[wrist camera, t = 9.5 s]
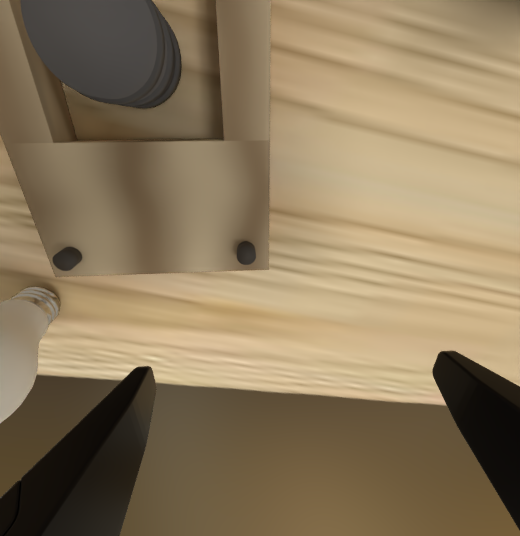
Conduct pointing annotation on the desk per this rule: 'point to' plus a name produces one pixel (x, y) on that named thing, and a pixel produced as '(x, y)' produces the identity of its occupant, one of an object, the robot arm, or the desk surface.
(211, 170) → the wooden handle frame
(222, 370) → the desk surface
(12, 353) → the light bulb
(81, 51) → the stacked grey discs
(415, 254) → the desk surface
